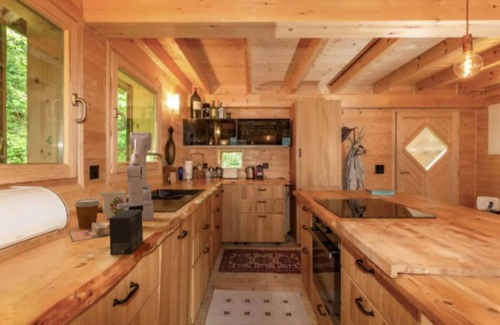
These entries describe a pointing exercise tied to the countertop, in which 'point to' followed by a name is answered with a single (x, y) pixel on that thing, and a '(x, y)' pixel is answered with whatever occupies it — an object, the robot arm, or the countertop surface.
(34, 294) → the countertop surface
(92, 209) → the disposable coffee cup
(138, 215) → the small box
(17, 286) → the countertop surface
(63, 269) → the countertop surface
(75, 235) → the mat
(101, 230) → the t block
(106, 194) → the pitcher
